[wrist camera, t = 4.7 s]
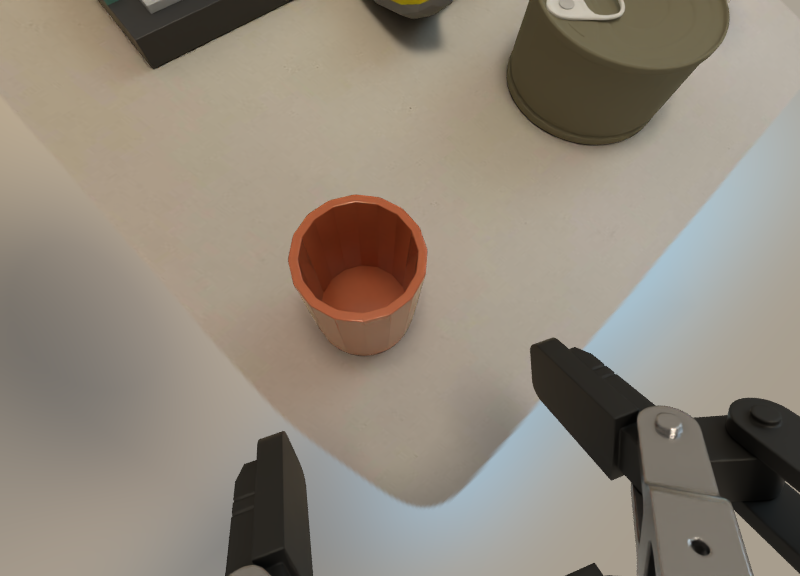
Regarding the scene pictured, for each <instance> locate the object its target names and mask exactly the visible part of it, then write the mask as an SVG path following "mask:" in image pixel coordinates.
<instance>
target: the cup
mask: <svg viewBox="0 0 800 576" xmlns="http://www.w3.org/2000/svg"><path fill="white" fill-rule="evenodd" d="M427 252H428V251H427V247H426V244H425V242H424V239H423V236H422V233H421V230H420V228H419V226H418V225H417V224H416V223H415V222H414V221H413V220H412V218H411V217H410V216H409V215H408V214H407V213H406V212H405V211H404V210H403V209H402V208H400V207H398V206H396V205H394V204H392V203H390V202H388V201H386V200H384V199H382V198H379V197H372V196H363V195H350V196H346V197H342V198H337V199H333V200H330V201H328V202H326V203H324V204H323V205H321V206H320V207H318V208H317V209H315V210H314V211H312V212H311V213H309V214H308V215H307V216H306V218H305V219H304V221H303V222H302V223H301V225H300V226H299V228H298V229H297V230H296V232H295V233H294V235H293V238H292V243H291V248H290V252H289V257H288V262H289V267H290V271H291V275H292V280H293V284H294V286H295V288H296V289H297V291H298V293H299V295H300V296H301V298H302V300H303V302H304V303H305V305H306V307H307V308H308V310H309V312H310V314H311V315H312V317H313V319H314V320H315V322H316V324H317V326H318V327H319V329H320V330H321V331H322V333H323V334H324V336H325V337H326V338H327V339H328V341H329V342H330V343H331V344H333V345H334V346H335V347H337V348H338V349H340V350H342V351H344V352H346V353H349V354H353V355H361V356H367V355H374V354H378V353H381V352H384V351H386V350H388V349H390V348H391V347H393V346H394V345H395V344H396V343H398V342H399V341H400V340H401V338H402V337H403V336H404V335H405V333H406V331H407V330H408V327H409V325H410V323H411V321H412V318H413V315H414V312H415V308H416V305H417V302H418V298H419V295H420V291H421V288H422V285H423V281H424V278H425V274H426V263H427Z"/></svg>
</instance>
